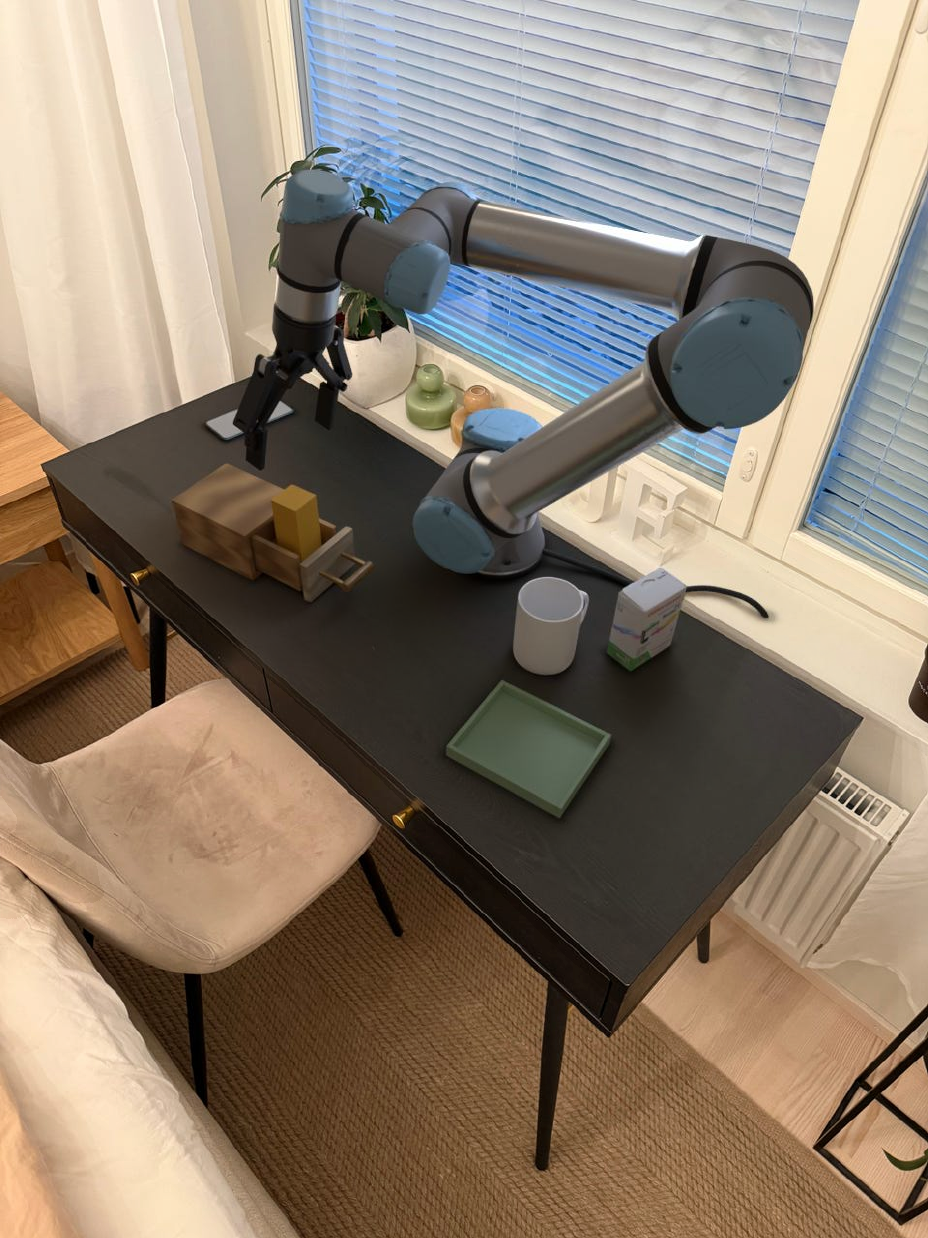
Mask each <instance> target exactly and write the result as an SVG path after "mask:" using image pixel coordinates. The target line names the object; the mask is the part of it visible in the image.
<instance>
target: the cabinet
mask: <svg viewBox="0 0 928 1238" xmlns="http://www.w3.org/2000/svg"><path fill="white" fill-rule="evenodd" d="M284 490H285V489H284V488H281V486H278V485H275V484H274V483H271V482H269V481H266V480H264V479H262V478H260V477H258V476H256V475H253V474H251V473H249V472H247V471H246V470H245V471H244V470H243V469H240V468H238V467H236V466H235V465H232V464H229V463H228V462H227V463H225V464H223V465H222V466H220V467H219V468H217V469H216V470H214V471H212V472H211V473H210V474H208V475H207V476H205V477H204V478H202V479H200V480H199V481H197V482H196V483H195V484H194V485H192V486H190V487H189V488H188V489H186V490H185V491H183V492H181V493H180V494H178V495H177V496H175V497H174V498H172V499H171V503H172V508H173V512H174V517H175V520H176V524H177V527H178V531H179V535H180V536H179V537H180V540H181V543H182V545H184V546H185V547H187V548H189V549H191V550H193V551H195V552H197V553H198V554H201V555H203V556H204V557H206V558H208V559H210V560H212V561H214V562H216V563H218V564H220V565H222V566H224V567H226V568H227V569H230V570H232V571H234V572H235V573H237V574H239V575H241V576H243V577H245V578H247V579H249V580H251V581H255V580H256V579H257V578H259V576H261V575H262V574H264V573H263V572H261V571H259V570H257V569H255V566H254V561H253V555H252V550H251V544H250V539H249V537H251V536H252V535H253V534H255V533H256V532H257V531H259V530H260V529H261V528H262V527H264V526H265V525H266V524H268V523H269V522H270V521H272V520H273V519H274V518H273V511H272V505H271V499H273V498H274V497H275V496H277V495H278V494H279V493H281V492H282V491H284Z"/></svg>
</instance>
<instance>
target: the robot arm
mask: <svg viewBox="0 0 928 1238" xmlns="http://www.w3.org/2000/svg"><path fill="white" fill-rule="evenodd" d="M283 190H284V191H283V196H282V197H283V198H282V204H281V210H280V212H279V219H280V224H279V225H280V227H279V228H280V229H279V243H278V258H277V259H278V260H277V265H276V266H277V269H276V278H275V279H276V281H275V293H274V304H273V309H272V321H271V322H272V323H271V331H272V334H273V337H274V340H275V344H276V345H275V348H274V351H273V353H272V354H271V355H269V356H265V355H263V354H262V353H258V354H257V355H256V357H255V359H254V365H253V371H252V374H251V376H250V378H249V381H248V384H247V386H246V388H245V391H244V393H243V395H242V398H241V400H240V403H239V406H238V408H237V409H238V410H237V409H236V410H237V413H236V415H235V417H234V420H233V425H234V426H235V427H237V428H238V429H239V430H241V431H242V432H244V433H243V434H244V441H243V442H244V443H243V444H244V447H245V461H246V462H247V463H249V464H250V465H251V466H253V467H254V468H256V469H257V470H258V471H260V472H261V471H263V470H264V469H265V465H266V454H267V445H268V444H267V443H268V433H269V431H268V429H267V428H265V427H266V425H267V424H268V423H267V422H268V420H269V418H270V417H271V415H272V413H273V412H274V410H275V408H276V407H277V405H278V403H279V402H280V400H282V398H283V396H284V395H285V394H286V392H287V390H291V389H292V388H293V387H294V385H295V384H296V382H297V380H299V379H301V378H303V376H304V375H309V374H310V373H312V372H313V371H314V369H315V370H316V371H317V373H318V374H319V375H320V376H321V378H323V379H324V380H323V381H321V382H320V383H319V385H318V386H319V387H318V393H317V401H316V408H315V416H314V422H316V423H317V424H319V425H320V426H322V427H323V428H324V429H326V430H327V431H331V430H333V426H334V419H335V414H336V409H337V407H336V406H337V403H338V402H339V394H340V392H342V393H344V392H345V391H347V389H348V386H349V385H348V384H347V383H346V382H344V381H350V380H351V379H352V378H353V370H352V367H351V364H350V361H349V357H348V354H347V353H348V352H347V350H346V346H345V343H344V342H345V330H344V329H342V328H341V327H339V326H338V325H336V321H337V312H338V310H339V302H340V296H341V295H340V294H341V287H342V282H343V283H344V284H348V285H349V286H352V287H354V288H356V289H358V290H360V291H362V292H365V293H367V294H369V295H371V296H373V297H374V298H377V299H379V300H381V301H383V302H385V303H387V304H388V305H390V306H391V307H395V308H400V309H403V310H406V311H408V312H411V313H414V314H416V315H421V316H423V315H426V314H429V313H430V312H431V311H433V310H434V308H435V307H436V306H437V304H438V302H439V299H441V297H442V296H443V294H444V291H445V288H446V285H447V283H448V279H449V276H450V271H451V264H454V265H459V266H464V267H467V268H474V269H479V270H483V271H487V272H492V273H497V274H502V275H506V276H510V277H515V278H518V279H522V280H523V279H524V280H528V281H533V282H537V283H540V284H541V283H542V284H546V285H551V286H555V287H560V288H564V289H568V290H573V291H578V292H581V293H586V294H590V295H596V296H600V297H604V298H608V299H613V300H617V301H622V302H626V303H631V304H635V305H640V306H643V307H649V308H652V309H658V310H662V311H667V312H670V313H672V314H673V315H674V317H675V319H676V320H677V321H676V322H674V323H672V324H671V325H670V326H668V327H666V328H665V329H664V330H662V331H660V333H658V334H656V335H655V336H654V337H652V338H651V339H650V340H649V341H648V343H647V344H646V348H645V354H644V360H643V361H642V362H639V363H638V364H637V365H635V366H634V367H632V368H631V369H629V370H628V371H626V372H625V373H623V374H622V375H620V376H618V377H617V378H615V379H614V380H612V381H611V382H609V383H607V384H606V385H604V386H603V387H602V388H600V389H598V390H597V391H596V392H594V393H593V394H591V395H589V396H587V397H586V398H585V399H583V400H581V401H580V402H579V403H577V404H576V405H574V406H573V407H571V408H569V409H568V410H566V411H565V412H564V413H562V414H560V415H559V416H558V417H556V418H554V419H552V420H551V421H550V422H548V423H546V424H545V425H544V426H543V425H542V424H541V423H540V421H538V420H537V419H536V418H535V417H533V416H532V415H529V414H527V413H525V412H523V411H519V410H516V409H510V408H504V407H503V408H501V407H498V408H497V407H494V408H492V407H491V408H484V409H480V410H477V411H474V412H472V413H470V414H469V415H468V416H466V417H465V419H464V421H463V424H462V429H461V430H460V435H461V446H460V448H459V451H458V452H457V453H456V454H455V456H454V458H453V459H452V460H451V462H450V463H449V464H448V466H447V467H446V468H445V470H444V471H443V473H442V474H441V475H440V477H439V478H438V479H437V481H435V483H434V484H433V486H432V487H431V488H430V490H429V491H428V492H427V494H426V495H425V497H424V498H422V499H421V500H420V502H419V504H418V506H417V507H418V508H417V509H416V511H415V513H414V515H413V518H412V528H413V534H414V538H415V540H416V542H417V544H418V546H419V547H420V549H421V550H422V552H424V553H425V555H426V556H427V557H428V558H429V559H430V560H431V561H433V562H434V563H435V564H437V565H439V566H440V567H442V568H444V569H449V570H451V571H453V572H454V573H458V574H465V575H466V574H468V575H472V576H473V577H477V578H480V579H481V578H482V579H486V580H493V581H494V580H495V581H499V580H501V581H503V580H512V579H515V578H519V577H522V576H524V575H527V574H528V573H529V574H530V572H532V571H533V570H534V569H536V568H537V567H538V566H539V564H540V563H541V562H542V560H543V557H544V556H546V557H550V558H553V559H555V560H559V561H561V562H565V563H568V564H571V565H573V566H576V567H579V568H581V569H583V570H587V571H589V572H593V573H595V574H598V575H601V576H604V577H607V578H609V579H611V580H614V581H616V582H619V583H620V584H623V585H626V586H628V585H630V584H632V583H634V582H636V581H635V580H632V579H629V578H626V577H625V576H622V575H619V574H617V573H614V572H612V571H609V570H607V569H605V568H602V567H599V566H596V565H594V564H590V563H588V562H585V561H583V560H580V559H577V558H574V557H571V556H568V555H565V554H562V553H559V552H556V551H553V550H551V549H548V548H546V540H545V533H544V531H543V528H542V523H541V519H540V517H539V513H538V512H540V511H543V509H545V508H547V507H549V506H551V505H553V504H554V503H556V502H557V501H560V500H562V499H563V498H565V497H567V496H569V495H570V494H571V493H573V492H575V491H577V490H579V489H581V488H583V487H584V486H586V485H588V484H589V483H591V482H593V481H595V480H596V479H599V478H600V477H602V476H604V475H605V474H607V473H609V472H611V471H612V470H614V469H616V468H618V467H619V466H622V465H623V464H625V463H627V462H628V461H630V460H632V459H634V458H636V457H637V456H639V455H641V454H642V453H644V452H646V451H648V450H649V449H651V448H653V447H655V446H656V445H659V444H660V443H662V442H664V441H666V440H667V439H669V438H670V437H672V436H674V435H676V434H678V433H679V432H681V431H683V430H684V431H687V432H689V433H692V434H696V435H704V434H706V433H708V432H710V431H712V430H714V429H715V428H723V429H724V430H734V429H735V430H736V429H741V428H744V427H748V426H751V425H754V424H756V423H758V422H760V421H762V420H763V419H765V418H766V417H767V416H769V415H770V414H772V413H773V412H774V411H775V410H776V409H777V408H778V407H780V405H781V404H782V403H783V402H784V400H785V399H786V397H787V396H788V394H789V393H790V390H791V389H792V387H793V385H794V384H795V382H796V380H797V379H798V376H799V373H800V371H801V368H802V363H803V358H804V349H805V345H806V341H807V337H808V333H809V330H810V328H811V325H812V322H813V317H814V311H815V310H814V308H815V304H814V294H813V290H812V286H811V285H810V282H809V280H808V277H806V275H805V274H804V272H803V271H802V269H800V268H799V266H798V265H797V264H796V263H794V262H793V261H792V260H791V259H789V258H788V257H786V256H784V255H782V254H781V253H778V252H776V251H774V250H771V249H768V248H765V247H762V246H758V245H756V244H751V243H748V242H743V241H738V240H734V239H729V238H725V237H718V236H714V235H709V234H702V235H701V236H699V237H697V238H696V239H694V240H693V241H686V240H682V239H677V238H671V237H666V236H661V235H656V234H651V233H646V232H641V231H636V230H631V229H626V228H620V227H616V226H611V225H606V224H600V223H597V222H592V221H591V222H590V221H585V220H581V219H576V218H571V217H566V216H559V215H555V214H550V213H545V212H539V211H534V210H531V209H530V210H529V209H524V208H519V207H514V206H509V205H505V204H499V203H494V202H489V201H485V200H480V199H478V198H477V197H476V195H475V194H474V193H473V192H472V191H471V190H469V189H468V188H467V187H466V186H464V185H463V184H462V183H459V182H455V181H445V182H442V183H439V184H437V185H435V186H434V187H432V188H429V189H427V190H426V191H424V192H423V193H422V194H421V195H420V196H419V197H418V198H417V199H416V200H415V201H414V202H413V203H411V205H409V206H408V207H407V208H405V210H403V211H402V212H401V213H400V214H398V215H397V216H396V217H395V218H393V219H392V220H391V221H390V222H388V223H385V222H383V221H380V220H378V219H376V218H373V217H371V216H368V215H366V214H364V213H363V212H360V211H358V210H356V209H355V208H354V204H355V203H354V192H353V189H352V187H351V185H350V184H349V183H348V182H346V181H344V179H343V178H342V177H341V176H339V175H338V174H337V175H336V174H335V173H332V172H329V171H326V170H320V169H302V170H298V171H296V172H295V173H294V174H291V175H290V176H289V177H288V179H286V181H285V185H284V189H283ZM325 350H327V354H328V357H329V360H330V362H329V360H327V358H326V357H325V355H324V352H325ZM330 363H331V365H330ZM279 371H281V373H282V374H284V375H285V376H286V377H287V378H286V379H285V378H284V377H283V376H281V375H279ZM325 381H326V382H325ZM257 420H258V422H257ZM686 586H687V589H686V592H685V594H687V593H696V592H706V593H707V592H708V593H715V594H721V595H724V596H729V597H732V598H736V599H738V600H741V601H743V602H745V603H747V604H749V605H750V606H751V607H753V608H754V610H756V611H757V612H758V613H759V615H760V617H762V618H764V619H768V618H770V616H769V613H768V612H767V610H766V609H765V608H764V607H763V606H762V605H761V604H760V603H759V602H758V601H757V600H756V599H754V598H753V597H751V596H749V595H747V594H744V593H743V592H739V591H737V590H733V589H728V588H725V587H721V586H715V585H708V584H707V585H703V584H700V585H690V586H689V585H686Z"/></svg>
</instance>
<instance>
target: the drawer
mask: <svg viewBox="0 0 928 1238" xmlns="http://www.w3.org/2000/svg"><path fill="white" fill-rule="evenodd" d="M319 525H320V534H321V543H322V546H321V547H320V548H319V549H318V550H316V551H315V552H314V553H313V554H312V555H310V556H309V557H308V558H307V559H306V560H304V561H303V562H302V563H301V564H300V557H299V556H298V555H296V554H294V553H292V552H290V551H288V550H286V549H284V548H282V547H280V546H278V544H277V537H276V531H275V524H274V519H273V520H272V521H270V522H269V523H268V524H266V525H265V526H264V527H262V528H261V529H260V530H259V531H257V532H256V533H255V534H253V535H252V536H251V537H249V539H250V544H251V550H252V555H253V561H254V566H255V569H257V570H259V571H261V572H263V573H262V574H265V575H267V576H269V577H271V578H273V579H275V580H277V581H278V582H281V583H282V584H285V585H287V586H288V587H290V588H293V589H295V590H296V591H299V592H301V591H302V592H303V600H304V601H306V602H309V603H312V602H313V601H314V600H315V599H317V597H319V596H320V595H321V594H322V593H323V592H325V591H326V589H328V588H329V587H330V586H331V585H333V584H336V585H338V586H340V587H341V589H342V590H343V591H344V592H346V593H347V592H349V591H350V590H352V588H353V587H355V586H356V585H357V584H358V583H359V582H360V581H361V580H362V579H364V578H365V577H366V576H367V575H368V574H370V572H372V570H374V569H375V564H374V563H373V562H372V561H371V560H367V561H364V560H363V559H360V558H357V557H356V556H355V544H354V529H353V528H351V527H350V526H347V525H345V526H344V527H343V528H341V529H340V531H337V525H335V524H332V523H330V522H328V521H326V520H324V519H322V518H320V517H319ZM354 565H358V566H360V567H359V568H357V569H356V570H355V571H354V572H353V573H352V574H351V575H350V576H349V577H347V578H346V579H345V580H342V579H340V577H341V576H343V575H344V574H346V572H347V571H349V570H350V569H351V568H352V567H353V566H354Z"/></svg>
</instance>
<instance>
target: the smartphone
mask: <svg viewBox="0 0 928 1238" xmlns="http://www.w3.org/2000/svg"><path fill="white" fill-rule="evenodd" d="M237 410H238V408H237V409H234V410H231V411H230V412H227V413H224V414H222V415H220V416H217V417H214V418H212V419H210V420H209V419H208V420H207V421H205V426H206V427H207V428H208V429H210V430H211V431H212V432H213V433H214V434H216V435H217V436H218V437H220V438H221V439H222V440H224V441H229V440H231V439H233V438H235V437H238V436H240V435H243V434H245V433H244V432H242V431H241V430H239V429H238V428H237V427H235V426H234V425H233V420H234V417H235V415H236V413H237ZM294 411H295V410H294V408H293V407H292V406H290V405H289V404H287V402H284V401H283V400H282V399H281V400H280V402H279V403H278V405H277V407H276V408H275V410H274V412H273V413H272V415H271V417H270V418H269V420H268V422H267V423H266V424H269V423H271V422H273V421H276V420H278V419H281V418H283V417H285V416H287V415H290V414H292V413H294ZM257 422H258V420H257Z"/></svg>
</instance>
